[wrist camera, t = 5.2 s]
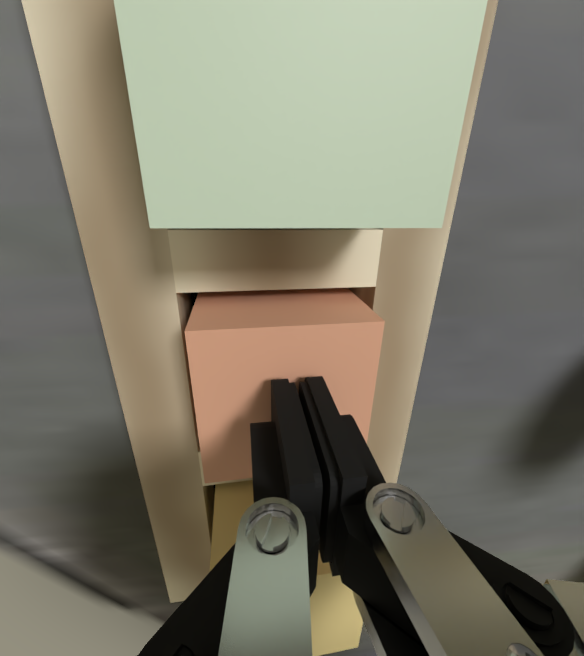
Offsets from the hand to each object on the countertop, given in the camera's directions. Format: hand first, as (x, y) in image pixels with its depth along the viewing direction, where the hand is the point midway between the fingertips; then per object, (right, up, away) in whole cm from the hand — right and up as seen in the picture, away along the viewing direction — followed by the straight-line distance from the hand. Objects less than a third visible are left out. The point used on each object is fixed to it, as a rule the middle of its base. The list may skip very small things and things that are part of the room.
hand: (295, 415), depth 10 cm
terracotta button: (-1, +2, +4) cm, 5 cm away
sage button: (0, +9, -1) cm, 10 cm away
